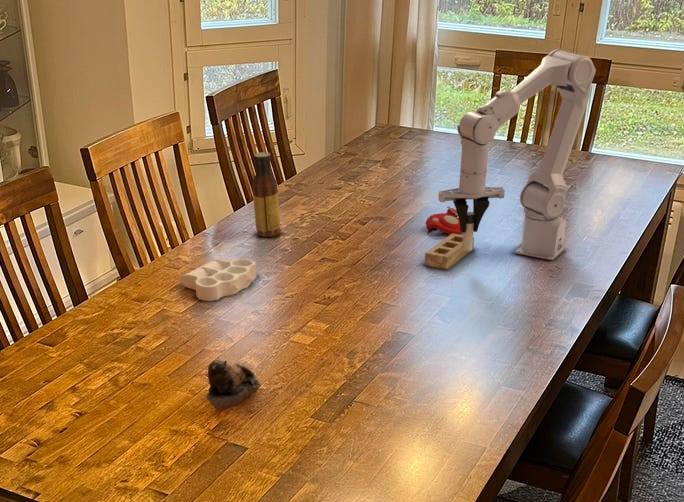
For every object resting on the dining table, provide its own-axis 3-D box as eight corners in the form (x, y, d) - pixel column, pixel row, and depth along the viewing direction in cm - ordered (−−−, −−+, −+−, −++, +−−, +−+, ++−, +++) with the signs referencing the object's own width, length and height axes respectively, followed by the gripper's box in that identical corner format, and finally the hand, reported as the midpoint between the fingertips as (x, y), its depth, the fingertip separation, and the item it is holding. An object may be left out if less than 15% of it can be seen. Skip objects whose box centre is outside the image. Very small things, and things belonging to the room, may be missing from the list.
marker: (473, 248, 229) (476, 212, 224) (469, 251, 228) (472, 215, 223) (464, 247, 230) (467, 211, 225) (460, 250, 229) (463, 214, 224)
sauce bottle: (282, 229, 255) (279, 150, 243) (279, 238, 250) (276, 158, 238) (256, 229, 255) (252, 150, 244) (253, 238, 250) (249, 157, 239)
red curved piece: (470, 230, 248) (433, 224, 246) (464, 245, 251) (427, 239, 249) (461, 204, 256) (425, 197, 254) (455, 219, 259) (419, 212, 257)
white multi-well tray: (221, 265, 236) (270, 278, 229) (171, 291, 224) (222, 306, 217) (220, 251, 234) (270, 264, 227) (169, 277, 222) (221, 291, 215)
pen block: (473, 249, 241) (474, 237, 239) (446, 269, 231) (447, 257, 229) (451, 245, 244) (452, 233, 242) (424, 265, 234) (425, 252, 232)
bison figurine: (236, 383, 188) (233, 334, 183) (268, 391, 186) (265, 342, 180) (200, 411, 180) (195, 361, 174) (233, 420, 177) (229, 370, 171)
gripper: (500, 163, 222) (494, 222, 230) (436, 166, 221) (433, 226, 229) (509, 172, 217) (503, 233, 224) (444, 176, 215) (440, 237, 223)
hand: (468, 230), depth 226 cm, fingers closed on marker, 2 cm apart
